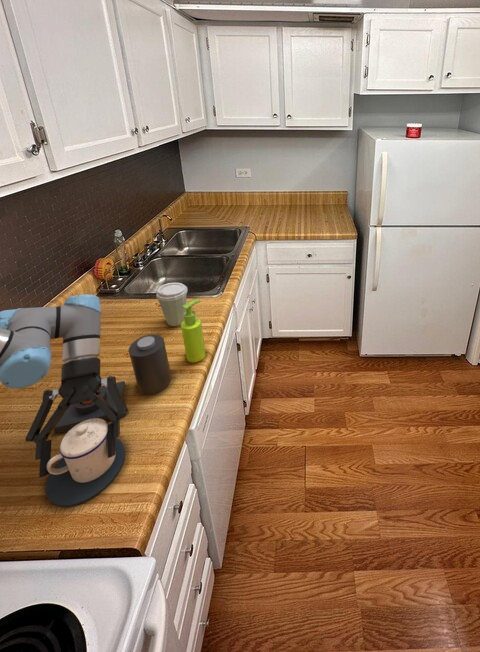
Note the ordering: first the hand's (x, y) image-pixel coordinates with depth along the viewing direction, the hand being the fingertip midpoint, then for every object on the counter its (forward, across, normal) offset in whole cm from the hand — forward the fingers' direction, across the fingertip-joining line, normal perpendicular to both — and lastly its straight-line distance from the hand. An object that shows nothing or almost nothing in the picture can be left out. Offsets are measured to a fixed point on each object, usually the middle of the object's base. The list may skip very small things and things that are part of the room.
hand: (79, 466), depth 71 cm
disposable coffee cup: (-34, -17, -42) cm, 57 cm away
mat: (+2, 0, -5) cm, 6 cm away
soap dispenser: (-19, -24, -27) cm, 41 cm away
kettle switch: (-14, +3, -16) cm, 21 cm away
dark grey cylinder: (-14, -12, -21) cm, 28 cm away
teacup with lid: (+1, 0, -5) cm, 5 cm away
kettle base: (-11, +3, -18) cm, 21 cm away
